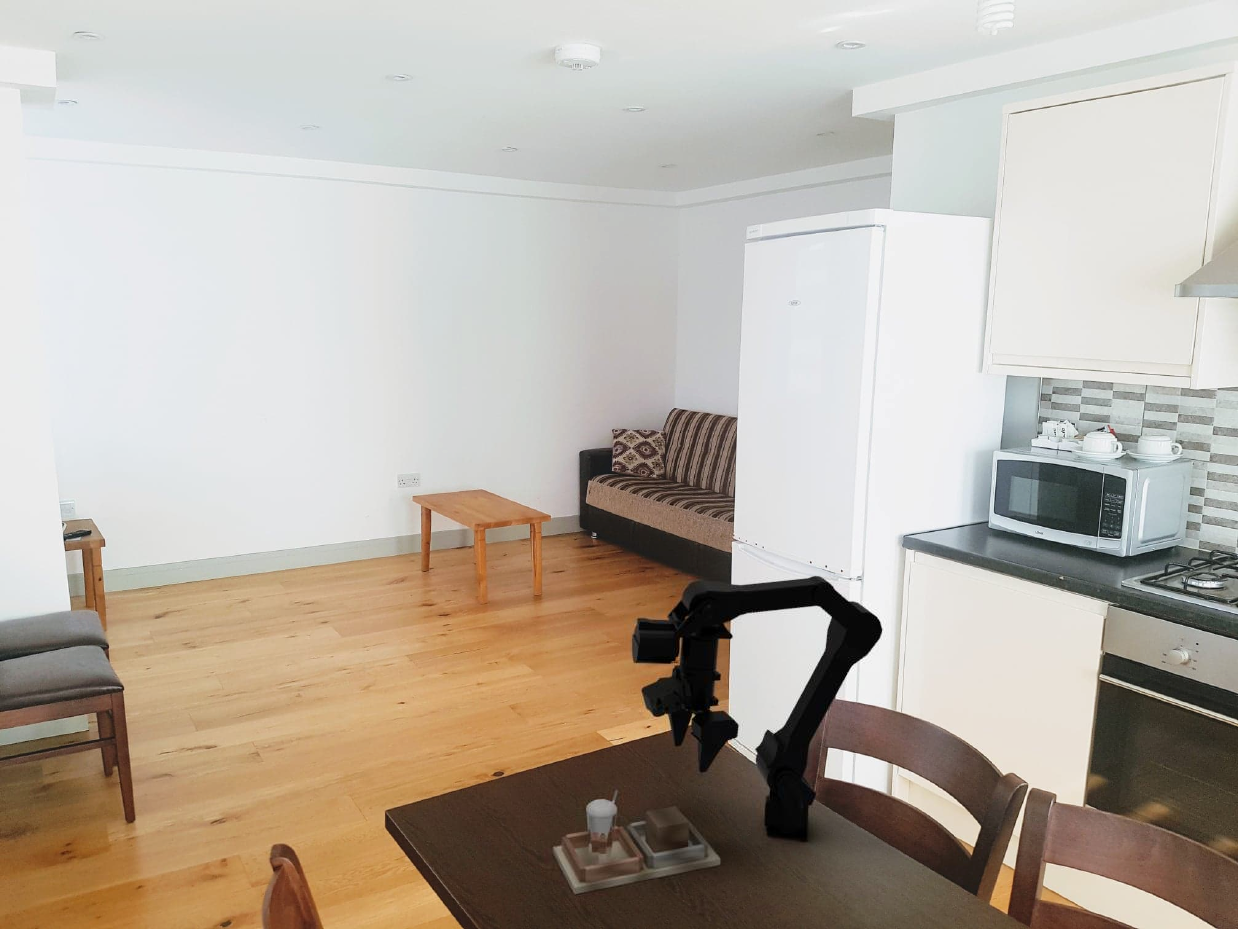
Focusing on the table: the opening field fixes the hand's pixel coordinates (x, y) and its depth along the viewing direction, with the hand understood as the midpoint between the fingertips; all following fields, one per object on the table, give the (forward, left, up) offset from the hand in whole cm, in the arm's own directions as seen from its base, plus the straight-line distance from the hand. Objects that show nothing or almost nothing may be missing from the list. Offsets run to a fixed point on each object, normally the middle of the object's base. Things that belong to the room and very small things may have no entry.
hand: (689, 758), depth 146 cm
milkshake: (+11, +11, -12) cm, 20 cm away
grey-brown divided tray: (+7, +9, -13) cm, 17 cm away
